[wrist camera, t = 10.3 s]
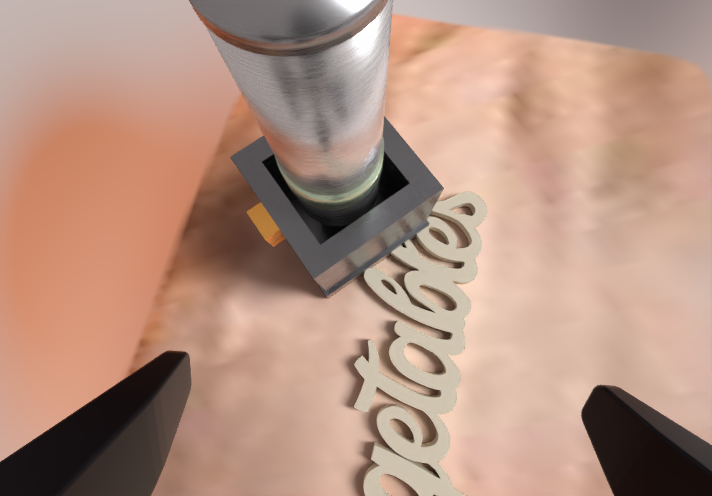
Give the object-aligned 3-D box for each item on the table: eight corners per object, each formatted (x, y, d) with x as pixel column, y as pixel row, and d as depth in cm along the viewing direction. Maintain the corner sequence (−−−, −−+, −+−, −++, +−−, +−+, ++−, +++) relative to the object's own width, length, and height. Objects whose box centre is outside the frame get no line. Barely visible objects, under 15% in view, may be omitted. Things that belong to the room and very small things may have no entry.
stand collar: (427, 228, 23) (450, 189, 16) (320, 304, 22) (301, 293, 15) (357, 140, 24) (354, 73, 18) (255, 208, 23) (213, 163, 17)
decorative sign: (470, 724, 17) (265, 658, 17) (464, 702, 18) (270, 640, 18) (537, 201, 22) (379, 170, 23) (530, 207, 23) (379, 176, 24)
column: (397, 196, 18) (451, -45, 7) (326, 244, 18) (247, 81, 6) (348, 133, 19) (317, -177, 7) (279, 178, 19) (130, -77, 7)
